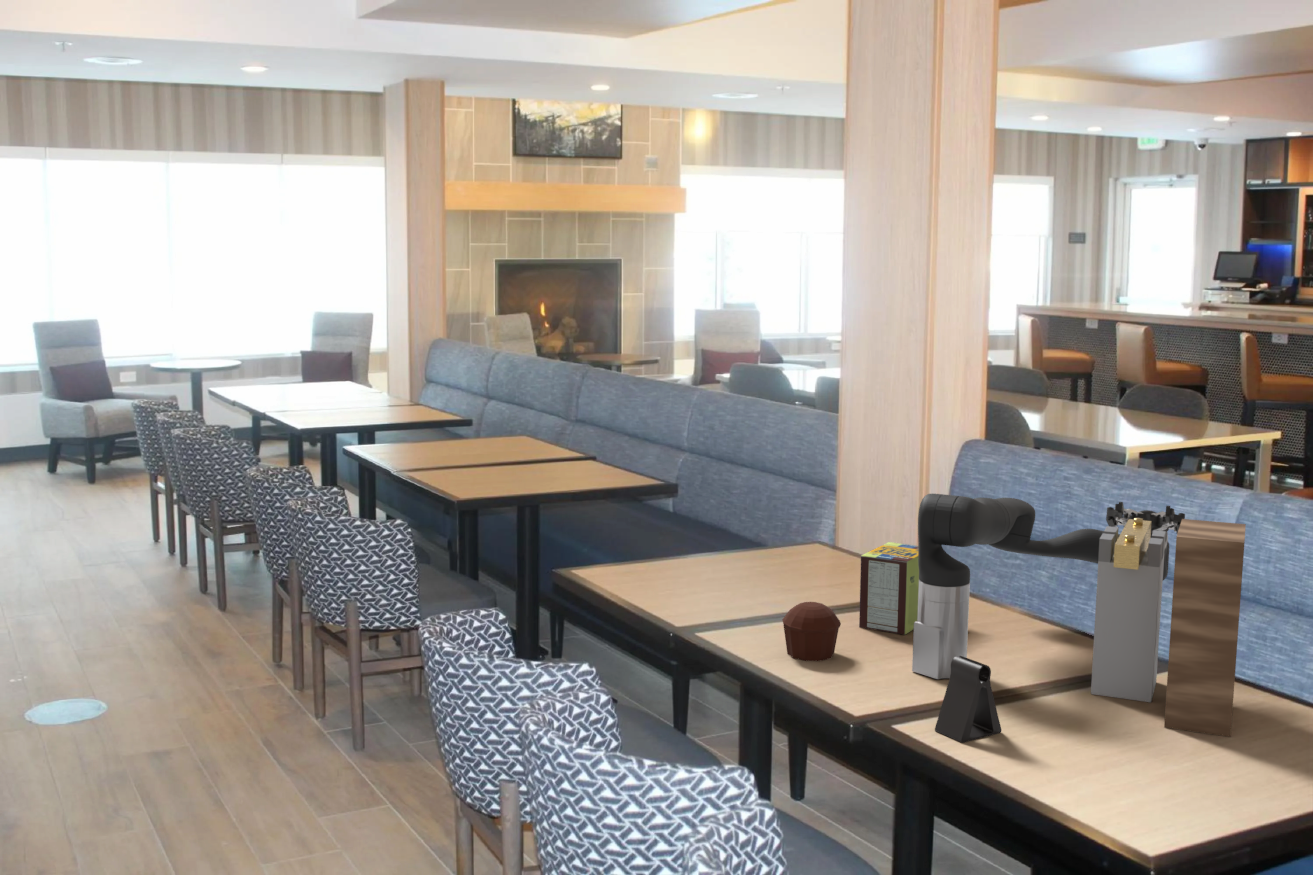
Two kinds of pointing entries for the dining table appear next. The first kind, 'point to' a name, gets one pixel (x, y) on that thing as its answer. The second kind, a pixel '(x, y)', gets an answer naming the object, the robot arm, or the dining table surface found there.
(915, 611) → the protein box
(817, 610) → the muffin
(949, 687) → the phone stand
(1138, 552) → the gold studded block
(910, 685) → the dining table surface
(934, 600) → the robot arm
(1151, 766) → the dining table surface
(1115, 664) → the post
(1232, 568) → the stand
